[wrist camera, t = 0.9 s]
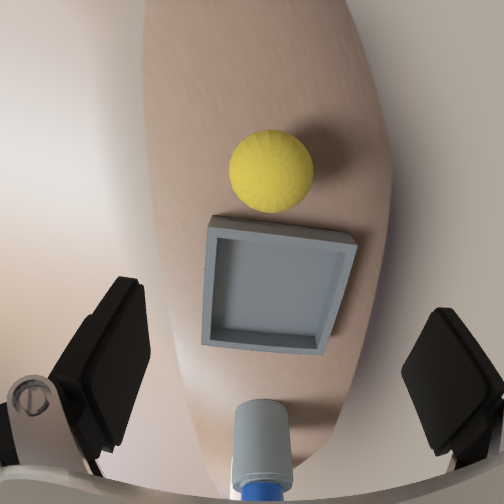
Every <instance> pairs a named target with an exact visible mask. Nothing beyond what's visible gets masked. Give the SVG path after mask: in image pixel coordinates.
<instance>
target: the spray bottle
mask: <svg viewBox="0 0 504 504" xmlns="http://www.w3.org/2000/svg"><path fill="white" fill-rule="evenodd" d="M231 481H232V484H233V489H234V490H235V491H237V492H239V493H241V500H242V501H284V499H283V493H284V492H286V491H288V490H290V489H291V487H292V483H293V470H292V457H291V445H290V433H289V421H288V411H287V409H286V407H285V406H284V405H283V404H281V403H279V402H277V401H273V400H268V399H257V400H251V401H248V402H245V403H243V404H241V405H240V406H239V407H238V408H237V409H236V411H235V426H234V444H233V461H232V479H231Z"/></svg>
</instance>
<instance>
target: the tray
mask: <svg viewBox="0 0 504 504" xmlns="http://www.w3.org/2000/svg"><path fill="white" fill-rule="evenodd" d="M357 246H358V245H357V244H356V242H355V241H354V240H353V238H352V237H351V236H350V234H349V233H346V232H339V231H332V230H325V229H318V228H310V227H303V226H296V225H288V224H280V223H272V222H264V221H256V220H248V219H239V218H231V217H222V216H213V215H212V218H211V220H210V222H209V225H208V229H207V243H206V258H205V275H204V293H203V314H202V341H201V345H207V346H215V347H223V348H232V349H241V350H251V351H262V352H275V353H289V354H306V355H323V353H324V351H325V348H326V345H327V342H328V340H329V337H330V334H331V331H332V328H333V325H334V322H335V319H336V316H337V313H338V310H339V307H340V304H341V301H342V298H343V295H344V291H345V288H346V285H347V281H348V278H349V275H350V271H351V268H352V264H353V261H354V257H355V254H356V250H357Z"/></svg>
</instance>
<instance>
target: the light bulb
mask: <svg viewBox="0 0 504 504" xmlns="http://www.w3.org/2000/svg"><path fill="white" fill-rule="evenodd" d="M313 170H314V169H313V164H312V160H311V156H310V154H309V153H308V151H307V149H306V148H305V146H304V145H303V144H302V143H301V142H300V141H299V140H298V139H296V138H295V137H294V136H293V135H290V134H288V133H285V132H283V131H278V130H264V131H260V132H256V133H253V134H252V135H250V136H248V137H247V138H245V139H244V140H242V142H241V143H240V144H239V145H238V146H237V148H236V149H235V150H234V152H233V155H232V158H231V160H230V167H229V178H230V181H231V184H232V188H233V190H234V191H235V193H236V194H237V196H238V197H239V199H240V200H241V201H243V202H244V203H245V204H247V205H248V206H249V207H251V208H253V209H255V210H258V211H261V212H268V213H277V212H281V211H286V210H289V209H290V208H292V207H294V206H295V205H297V204H299V202H300V201H301V200H302V199H303V198H304V197H305V196H306V195H307V193H308V191H309V188H310V186H311V184H312V180H313Z"/></svg>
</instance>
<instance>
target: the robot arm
mask: <svg viewBox="0 0 504 504" xmlns="http://www.w3.org/2000/svg"><path fill="white" fill-rule="evenodd" d="M145 304H146V303H145V292H144V286H143V285H142V284H139V282H138V280H137V279H135V278H128V277H122V276H119V277H118V278H117V279H116V280H115V282H114V283H113V285H112V286H111V287H110V289H109V290H108V292H107V293H106V295H105V296H104V297H103V299H102V300H101V302H100V303H99V305H98V306H97V308H96V309H95V311H94V312H93V314H91V315H88V316H87V317H86V318H85V319H84V321H83V322H82V324H81V325H80V327H79V329H78V330H77V332H76V333H75V335H74V336H73V338H72V339H71V341H70V342H69V344H68V345H67V347H66V349H65V350H64V352H63V353H62V355H61V357H60V358H59V360H58V361H57V363H56V365H55V366H54V368H53V370H52V372H51V373H50V375H49V377H48V378H45V377H43V376H39V375H28V376H25V377H23V378H20V379H19V380H17V381H16V382H15V383H14V384H13V385H12V386H11V388H10V389H9V392H8V395H7V402H5V403H2V404H0V504H504V399H502V397H501V396H502V395H503V394H504V381H503V380H502V378H501V376H500V375H499V373H498V372H497V370H496V369H495V367H494V366H493V364H492V363H491V361H490V360H489V358H488V357H487V355H486V354H485V352H484V351H483V349H482V348H481V346H480V345H479V344H478V342H477V341H476V339H475V338H474V337H473V336H472V334H471V332H470V331H469V330H468V328H467V327H466V326H465V324H464V323H463V322H462V320H461V319H460V318H459V316H458V315H457V314H456V313H455V311H454V310H453V309H452V308H442V307H441V308H440V307H438V308H436V309H435V310H434V312H432V313H431V314H430V316H429V318H428V320H427V322H426V324H425V326H424V328H423V330H422V332H421V334H420V336H419V338H418V340H417V341H416V343H415V345H414V347H413V349H412V351H411V353H410V354H409V356H408V358H407V359H406V361H405V363H404V365H403V367H402V371H401V374H402V378H403V380H404V382H405V384H406V387H407V389H408V392H409V394H410V397H411V399H412V401H413V404H414V406H415V409H416V411H417V414H418V416H419V419H420V422H421V424H422V427H423V429H424V432H425V435H426V437H427V440H428V443H429V445H430V447H431V449H433V450H434V453H435V456H440V455H444V454H447V453H448V452H449V451H450V450H452V451H453V454H452V457H451V460H450V463H449V466H448V469H447V472H446V474H443V475H440V476H437V477H434V478H430V479H427V480H423V481H420V482H416V483H412V484H409V485H405V486H400V487H396V488H392V489H387V490H382V491H377V492H372V493H366V494H359V495H353V496H346V497H338V498H328V499H317V500H303V501H302V500H301V501H242V500H227V499H216V498H215V499H214V498H207V497H198V496H191V495H183V494H177V493H170V492H165V491H159V490H154V489H150V488H145V487H140V486H136V485H132V484H128V483H124V482H119V481H115V480H111V479H107V478H106V477H105V475H104V473H103V471H102V469H101V467H100V465H99V464H98V461H97V458H99V456H100V453H101V450H103V451H106V452H109V453H113V450H114V447H115V445H116V446H119V445H121V442H122V440H123V437H124V433H125V430H126V427H127V424H128V421H129V418H130V415H131V412H132V409H133V405H134V403H135V399H136V397H137V394H138V391H139V388H140V385H141V382H142V379H143V377H144V374H145V371H146V368H147V365H148V363H149V359H150V354H151V353H150V351H151V349H150V341H149V333H148V324H147V314H146V305H145Z"/></svg>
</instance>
